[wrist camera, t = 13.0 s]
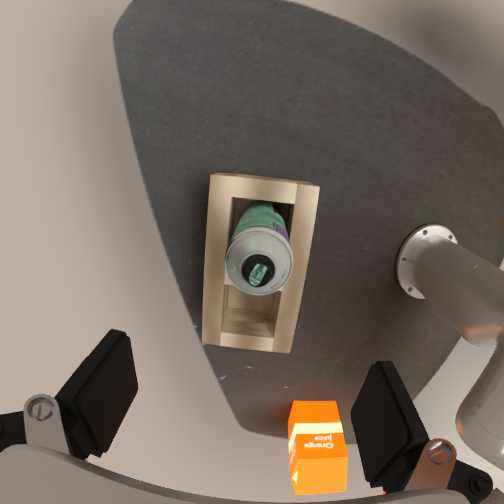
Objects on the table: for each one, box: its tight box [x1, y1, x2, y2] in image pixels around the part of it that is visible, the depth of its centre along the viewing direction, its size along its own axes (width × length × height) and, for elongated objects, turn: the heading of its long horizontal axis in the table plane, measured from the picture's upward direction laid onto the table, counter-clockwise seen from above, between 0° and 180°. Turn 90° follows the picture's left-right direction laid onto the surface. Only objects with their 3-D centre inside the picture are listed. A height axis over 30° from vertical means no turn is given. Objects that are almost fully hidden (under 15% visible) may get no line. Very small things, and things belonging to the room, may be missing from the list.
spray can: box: [225, 200, 293, 296], centre depth 29 cm, size 6×6×20 cm
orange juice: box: [288, 401, 348, 495], centre depth 42 cm, size 8×9×20 cm
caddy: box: [202, 172, 320, 353], centre depth 38 cm, size 12×22×8 cm, turn 174°
